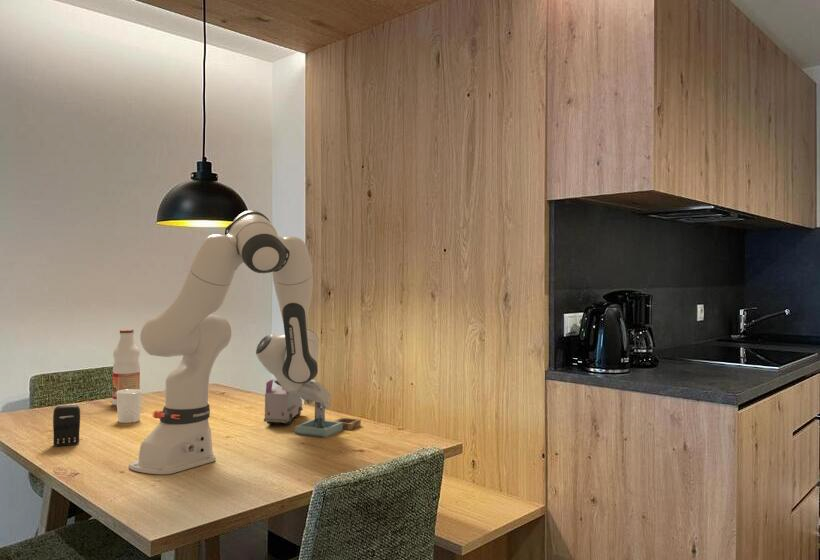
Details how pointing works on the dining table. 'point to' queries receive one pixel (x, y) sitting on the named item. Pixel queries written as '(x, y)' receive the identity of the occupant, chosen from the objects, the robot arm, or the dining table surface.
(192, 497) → the dining table surface
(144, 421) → the dining table surface
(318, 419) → the pin
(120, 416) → the white cup
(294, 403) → the toy vehicle
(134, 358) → the fruit juice
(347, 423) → the collar
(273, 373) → the robot arm
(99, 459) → the dining table surface
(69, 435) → the battery charger
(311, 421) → the tray
